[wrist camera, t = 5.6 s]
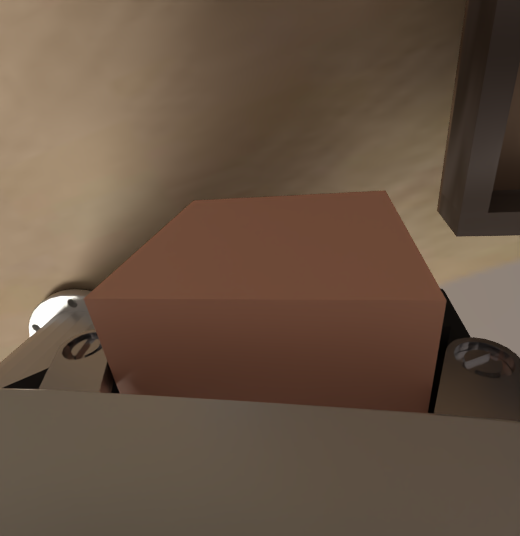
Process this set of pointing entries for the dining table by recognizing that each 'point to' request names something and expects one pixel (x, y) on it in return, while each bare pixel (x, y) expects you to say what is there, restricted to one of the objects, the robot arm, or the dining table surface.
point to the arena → (485, 125)
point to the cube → (276, 306)
